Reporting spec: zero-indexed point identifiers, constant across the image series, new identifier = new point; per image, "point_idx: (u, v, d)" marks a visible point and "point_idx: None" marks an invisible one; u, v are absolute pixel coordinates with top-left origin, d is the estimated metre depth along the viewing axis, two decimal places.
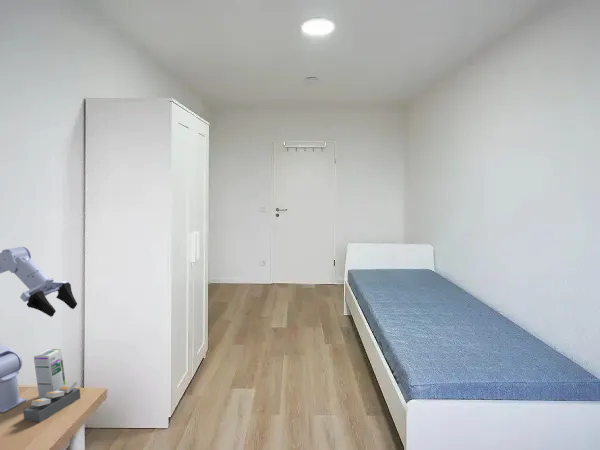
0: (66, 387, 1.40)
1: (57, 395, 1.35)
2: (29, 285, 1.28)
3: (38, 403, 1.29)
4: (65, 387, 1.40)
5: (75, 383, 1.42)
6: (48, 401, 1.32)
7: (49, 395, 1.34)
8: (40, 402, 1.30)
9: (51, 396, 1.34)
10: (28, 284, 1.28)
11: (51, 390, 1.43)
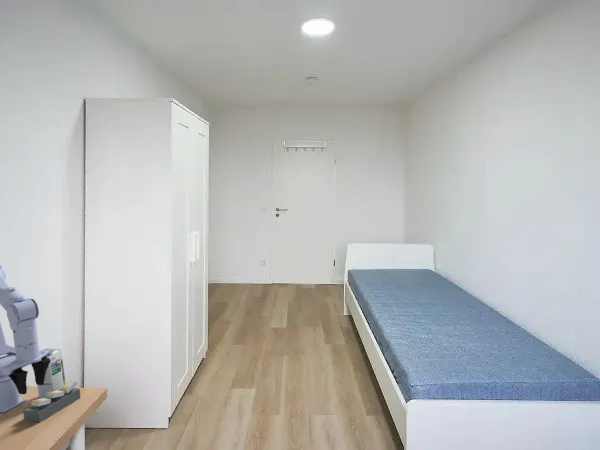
0: (66, 387, 1.40)
1: (57, 395, 1.35)
2: (17, 353, 1.25)
3: (38, 403, 1.29)
4: (65, 387, 1.40)
5: (75, 383, 1.42)
6: (48, 401, 1.32)
7: (49, 395, 1.34)
8: (40, 402, 1.30)
9: (51, 396, 1.34)
10: (17, 351, 1.25)
11: (51, 390, 1.43)
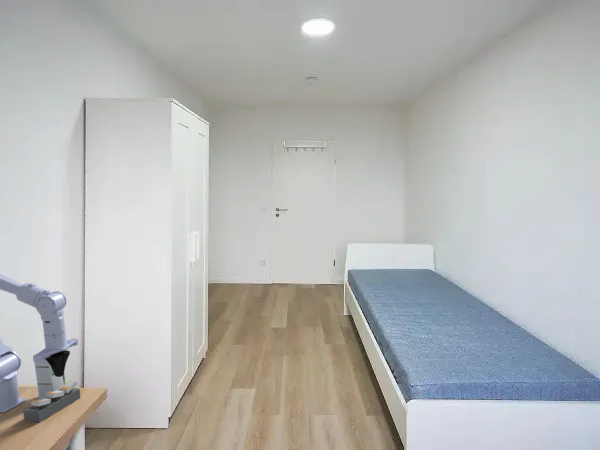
0: (66, 387, 1.40)
1: (57, 395, 1.35)
2: (47, 342, 1.34)
3: (38, 403, 1.29)
4: (65, 387, 1.40)
5: (75, 383, 1.42)
6: (48, 401, 1.32)
7: (49, 395, 1.34)
8: (40, 402, 1.30)
9: (51, 396, 1.34)
10: (46, 340, 1.34)
11: (51, 390, 1.43)
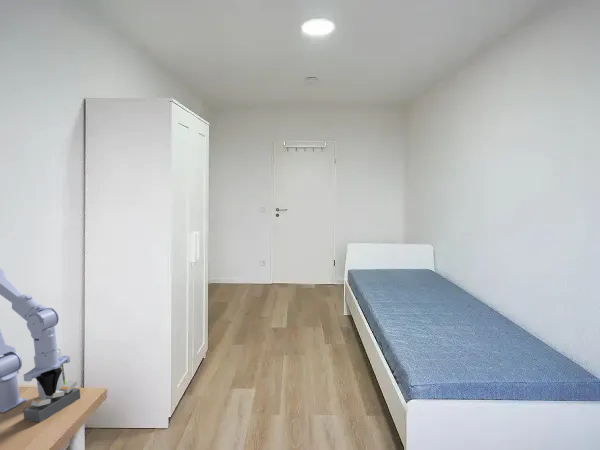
0: (66, 387, 1.40)
1: (57, 395, 1.35)
2: (37, 360, 1.31)
3: (38, 403, 1.29)
4: (65, 387, 1.40)
5: (75, 383, 1.42)
6: (48, 401, 1.32)
7: None
8: (40, 402, 1.30)
9: (51, 396, 1.34)
10: (37, 358, 1.31)
11: None
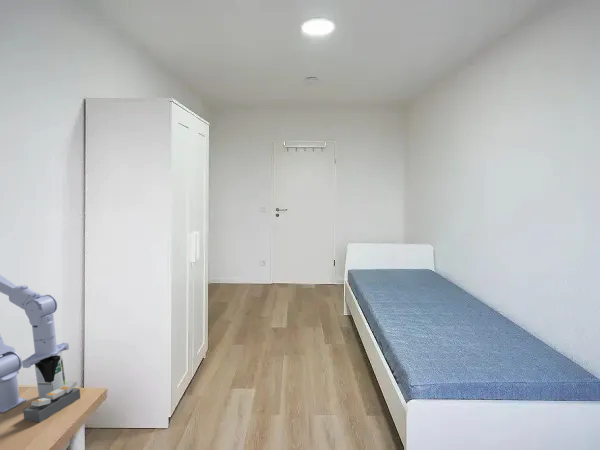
0: (66, 387, 1.40)
1: (57, 395, 1.35)
2: (36, 346, 1.31)
3: (38, 403, 1.29)
4: (65, 387, 1.40)
5: (75, 383, 1.42)
6: (48, 401, 1.32)
7: (49, 397, 1.34)
8: (40, 402, 1.30)
9: (51, 398, 1.34)
10: (36, 345, 1.31)
11: (51, 390, 1.43)
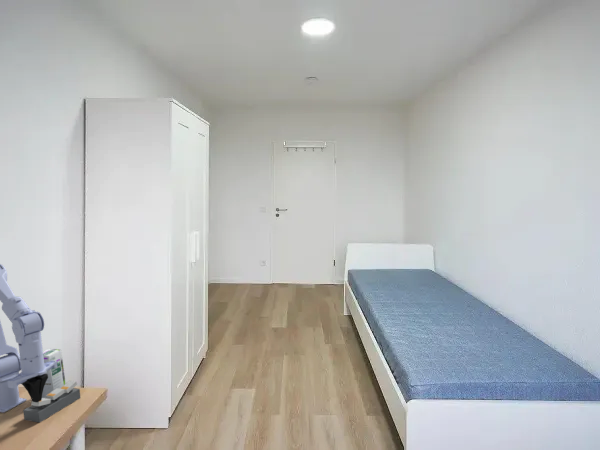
0: (66, 387, 1.40)
1: (57, 396, 1.35)
2: (23, 365, 1.26)
3: (38, 403, 1.29)
4: (65, 387, 1.40)
5: (75, 383, 1.42)
6: (48, 401, 1.32)
7: (49, 398, 1.34)
8: (40, 402, 1.30)
9: (51, 398, 1.34)
10: (22, 364, 1.26)
11: (51, 390, 1.43)
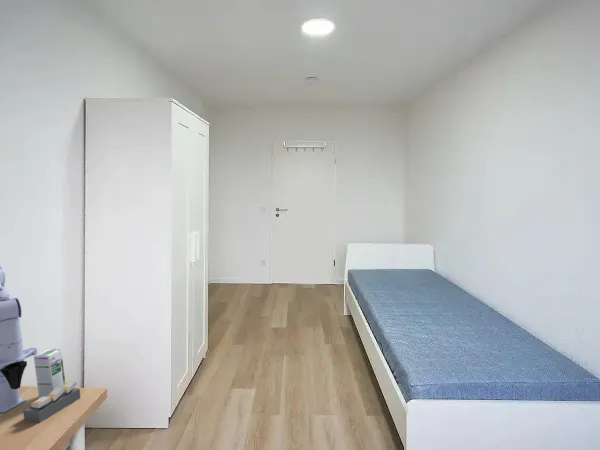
0: (66, 387, 1.40)
1: (57, 396, 1.35)
2: (0, 352, 1.25)
3: (38, 405, 1.29)
4: (65, 387, 1.40)
5: (75, 383, 1.42)
6: (48, 400, 1.32)
7: None
8: (40, 404, 1.30)
9: (52, 399, 1.34)
10: (0, 350, 1.25)
11: (51, 390, 1.43)
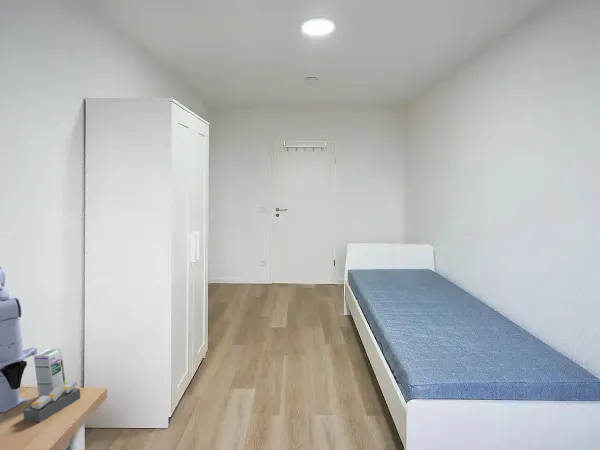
0: (66, 387, 1.40)
1: (57, 396, 1.35)
2: (0, 352, 1.25)
3: (38, 406, 1.29)
4: (65, 387, 1.40)
5: (75, 383, 1.42)
6: (48, 399, 1.32)
7: None
8: (40, 404, 1.30)
9: (52, 400, 1.34)
10: (0, 350, 1.25)
11: (51, 390, 1.43)
